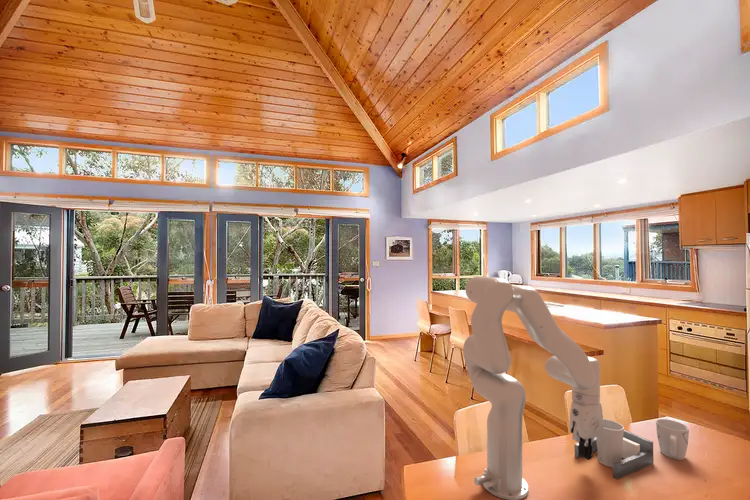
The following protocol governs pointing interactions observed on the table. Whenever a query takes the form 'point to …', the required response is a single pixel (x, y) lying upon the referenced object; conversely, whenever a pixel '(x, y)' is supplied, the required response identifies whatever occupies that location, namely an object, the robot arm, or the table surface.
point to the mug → (672, 438)
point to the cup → (610, 443)
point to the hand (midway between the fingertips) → (585, 456)
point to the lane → (632, 462)
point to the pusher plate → (629, 448)
